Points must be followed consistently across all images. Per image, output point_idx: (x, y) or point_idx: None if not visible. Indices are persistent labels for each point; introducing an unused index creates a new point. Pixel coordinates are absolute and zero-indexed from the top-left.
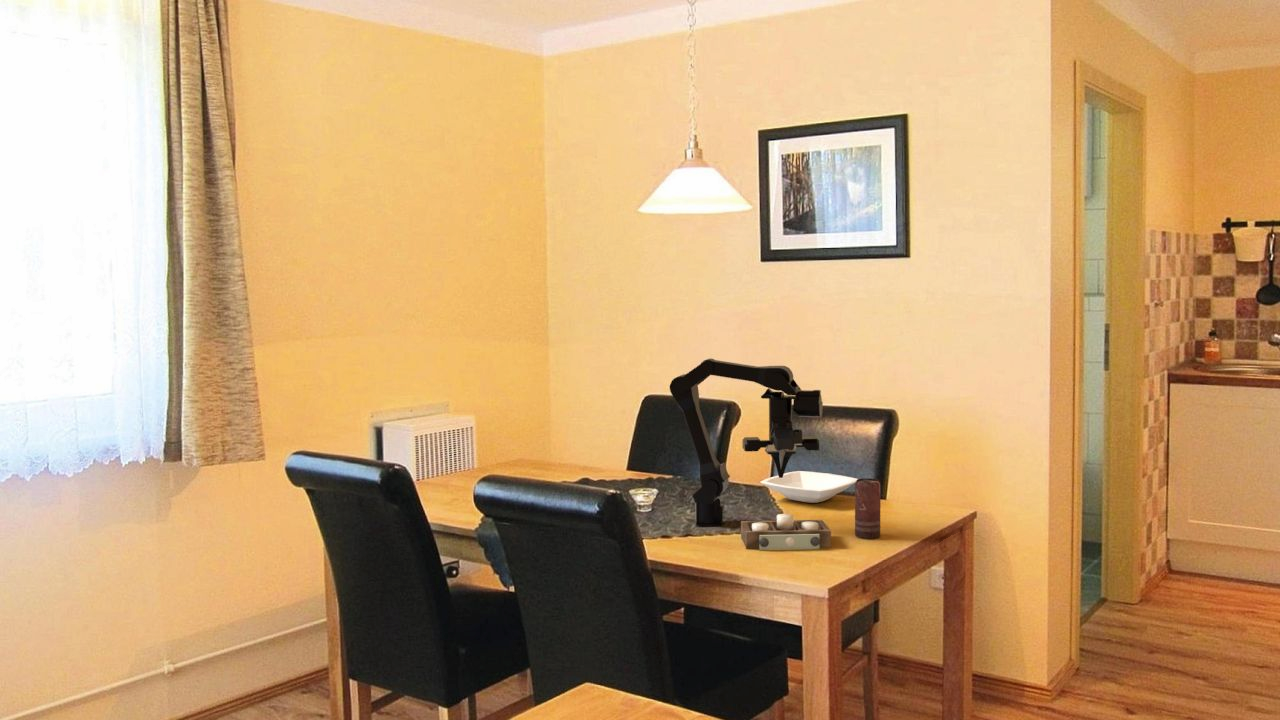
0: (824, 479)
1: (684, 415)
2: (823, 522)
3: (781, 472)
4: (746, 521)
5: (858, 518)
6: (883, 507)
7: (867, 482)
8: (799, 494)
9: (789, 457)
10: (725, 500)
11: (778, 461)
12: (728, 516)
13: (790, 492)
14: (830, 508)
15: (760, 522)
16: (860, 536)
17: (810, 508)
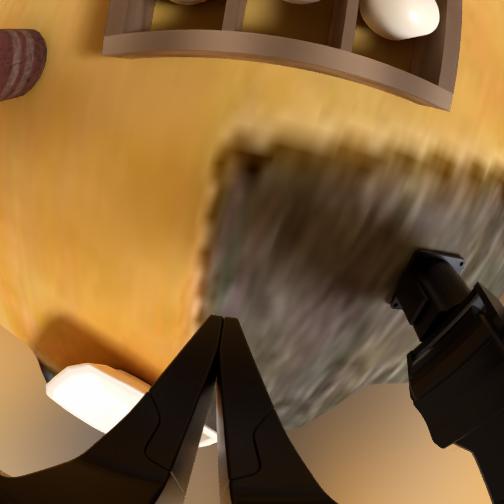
0: (104, 421)
1: None
2: (111, 12)
3: (215, 345)
4: (434, 99)
5: (6, 38)
6: (13, 311)
7: None
8: (145, 387)
9: (83, 461)
10: (291, 415)
11: (243, 450)
12: (345, 333)
13: None
14: (90, 337)
15: (402, 28)
16: (40, 35)
17: (129, 349)
